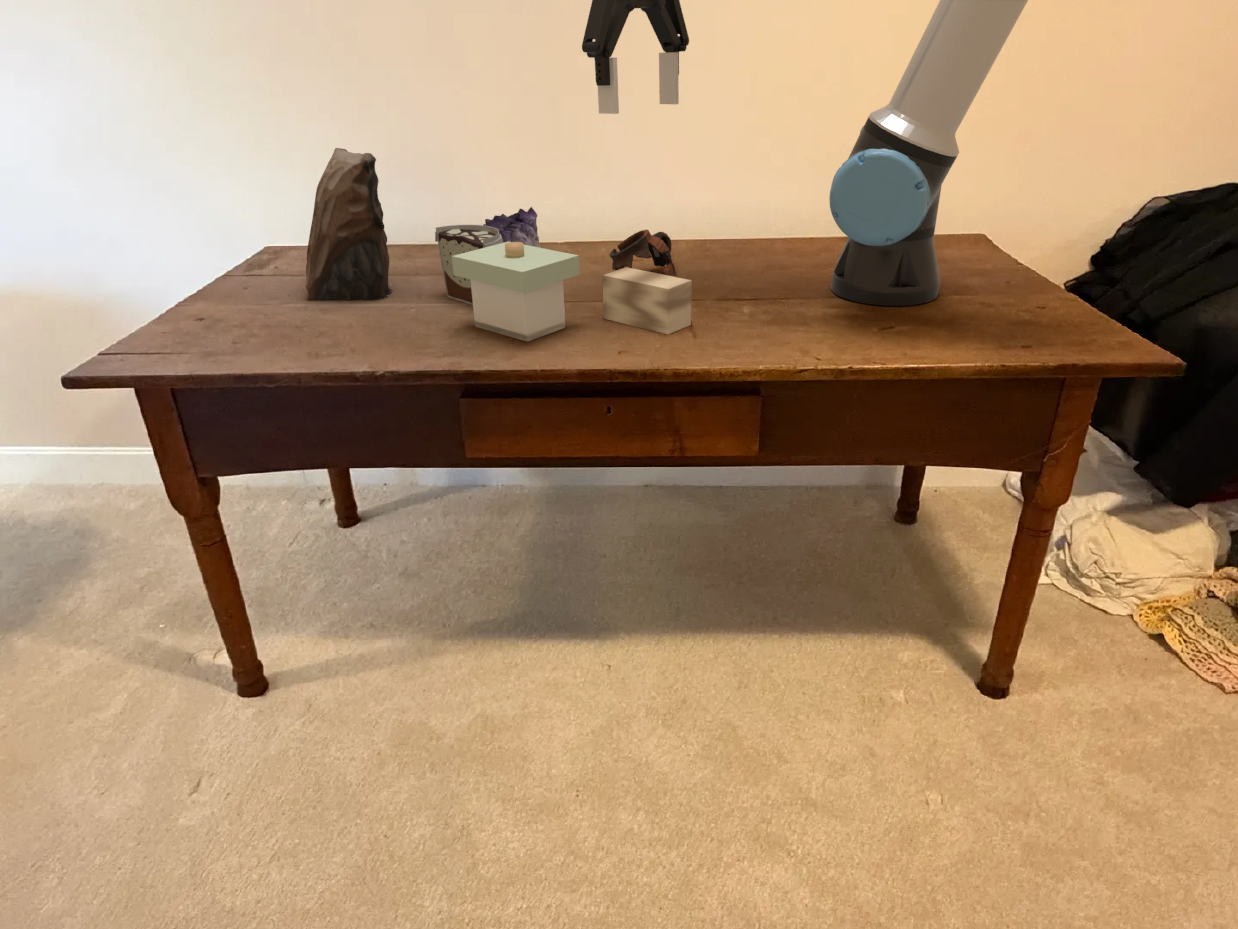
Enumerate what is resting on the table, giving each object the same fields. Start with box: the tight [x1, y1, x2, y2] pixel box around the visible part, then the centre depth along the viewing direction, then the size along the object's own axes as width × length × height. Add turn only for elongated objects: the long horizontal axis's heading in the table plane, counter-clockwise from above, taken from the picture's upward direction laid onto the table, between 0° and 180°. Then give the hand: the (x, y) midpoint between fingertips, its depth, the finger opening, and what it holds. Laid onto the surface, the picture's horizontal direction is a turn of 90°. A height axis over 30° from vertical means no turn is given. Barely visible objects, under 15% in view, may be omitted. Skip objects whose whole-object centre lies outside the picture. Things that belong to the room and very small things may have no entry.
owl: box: [305, 147, 392, 302], centre depth 127 cm, size 13×13×20 cm
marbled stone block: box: [602, 267, 693, 336], centre depth 114 cm, size 11×5×6 cm, turn 50°
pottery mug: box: [608, 229, 677, 277], centre depth 136 cm, size 12×10×8 cm
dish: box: [470, 279, 566, 343], centre depth 113 cm, size 10×7×7 cm
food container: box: [434, 224, 503, 306], centre depth 125 cm, size 12×6×10 cm, turn 45°
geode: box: [483, 206, 541, 248], centre depth 139 cm, size 20×12×10 cm, turn 173°
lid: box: [452, 241, 581, 292], centre depth 111 cm, size 13×10×4 cm
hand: (640, 108), depth 116 cm, fingers open, 13 cm apart
